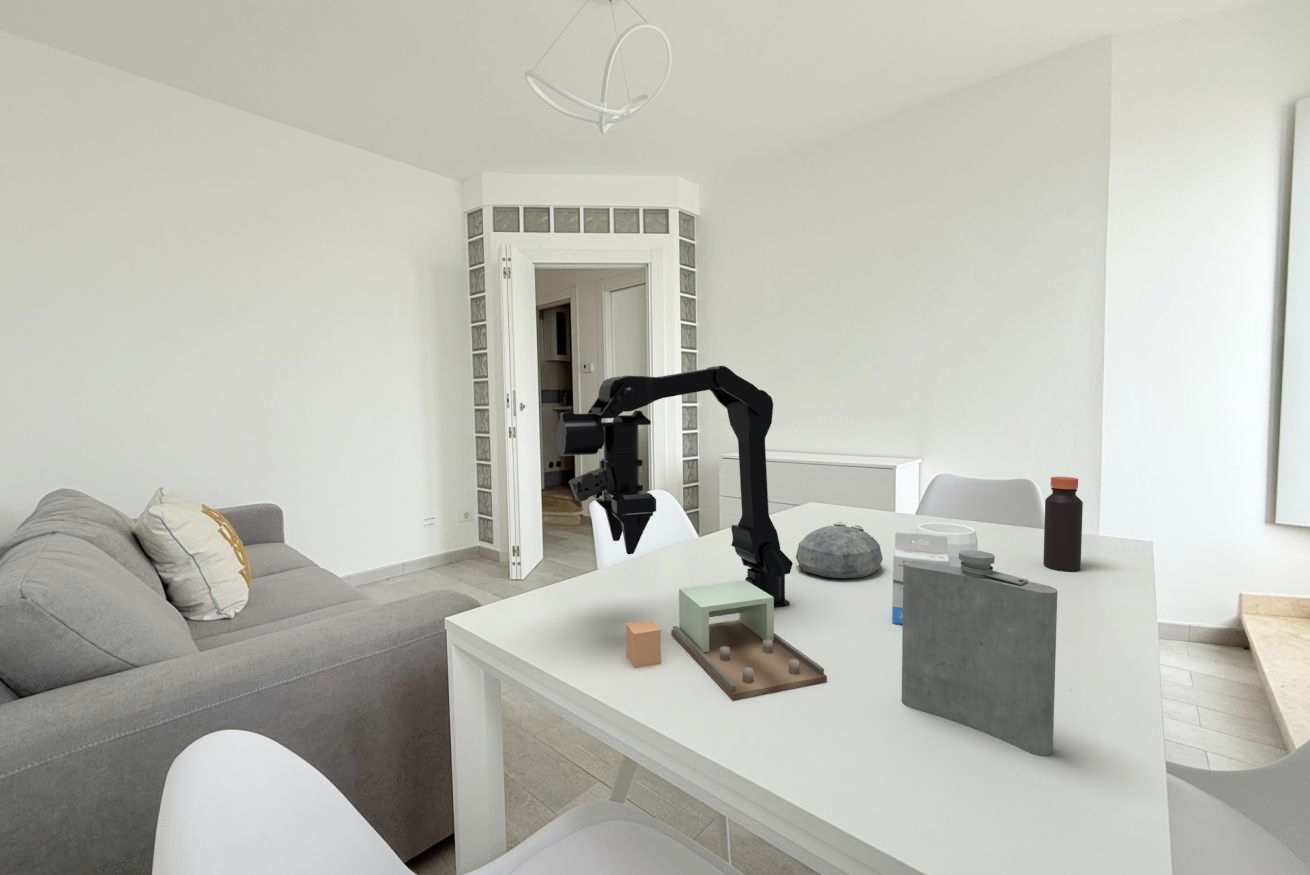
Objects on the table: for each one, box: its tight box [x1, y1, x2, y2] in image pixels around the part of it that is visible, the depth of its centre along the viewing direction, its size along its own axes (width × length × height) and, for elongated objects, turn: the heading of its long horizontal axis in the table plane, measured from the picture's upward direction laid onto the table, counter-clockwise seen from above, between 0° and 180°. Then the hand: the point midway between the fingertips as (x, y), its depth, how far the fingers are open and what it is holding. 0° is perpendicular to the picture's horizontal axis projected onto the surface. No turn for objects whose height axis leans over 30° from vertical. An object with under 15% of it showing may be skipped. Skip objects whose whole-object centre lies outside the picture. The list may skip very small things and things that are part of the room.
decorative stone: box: [795, 521, 883, 579], centre depth 128 cm, size 18×21×10 cm
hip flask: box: [901, 549, 1058, 757], centre depth 66 cm, size 16×4×20 cm, turn 43°
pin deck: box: [670, 619, 828, 701], centre depth 85 cm, size 14×22×2 cm, turn 19°
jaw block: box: [625, 619, 662, 669], centre depth 84 cm, size 4×4×5 cm
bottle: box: [1042, 476, 1084, 572], centre depth 127 cm, size 7×7×20 cm
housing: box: [678, 580, 775, 653], centre depth 90 cm, size 12×9×7 cm
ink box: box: [891, 531, 949, 626], centre depth 97 cm, size 9×5×15 cm, turn 65°
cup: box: [913, 522, 979, 568], centre depth 125 cm, size 12×12×10 cm
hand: (622, 547), depth 95 cm, fingers open, 9 cm apart
